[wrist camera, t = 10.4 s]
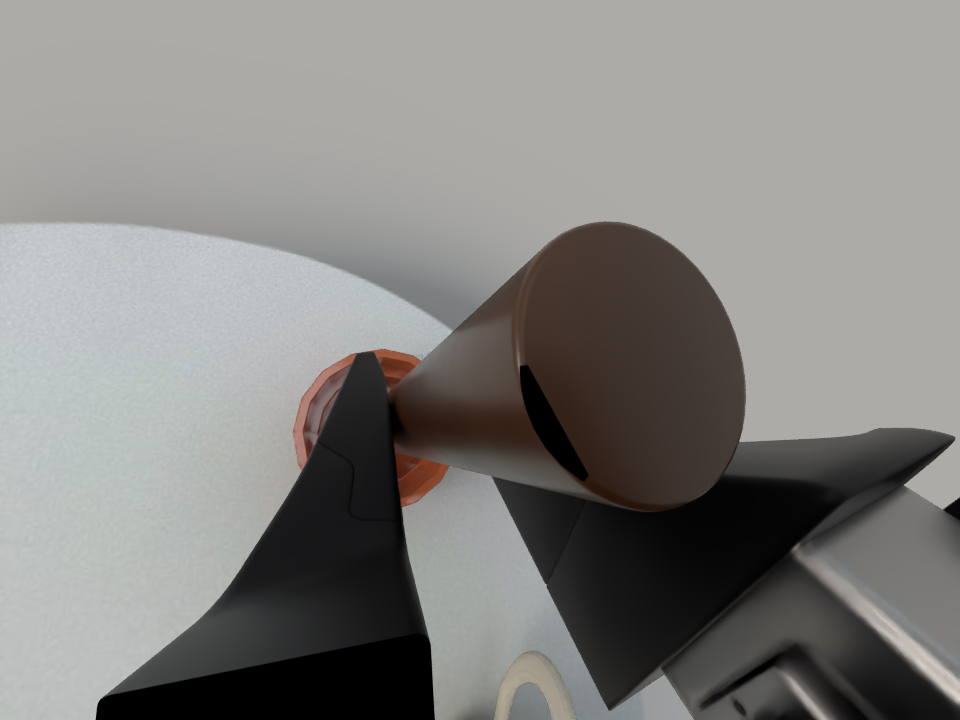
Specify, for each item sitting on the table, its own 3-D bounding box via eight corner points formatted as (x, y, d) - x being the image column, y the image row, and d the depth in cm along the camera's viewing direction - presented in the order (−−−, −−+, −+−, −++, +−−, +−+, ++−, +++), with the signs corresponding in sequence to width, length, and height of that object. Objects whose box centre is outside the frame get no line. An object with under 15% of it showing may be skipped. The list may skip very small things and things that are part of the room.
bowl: (442, 381, 23) (468, 367, 19) (424, 500, 21) (447, 517, 17) (322, 357, 21) (318, 334, 16) (289, 489, 19) (273, 506, 14)
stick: (414, 405, 16) (740, 265, 3) (405, 452, 15) (762, 524, 2) (367, 398, 15) (530, 174, 2) (357, 445, 14) (497, 501, 2)
